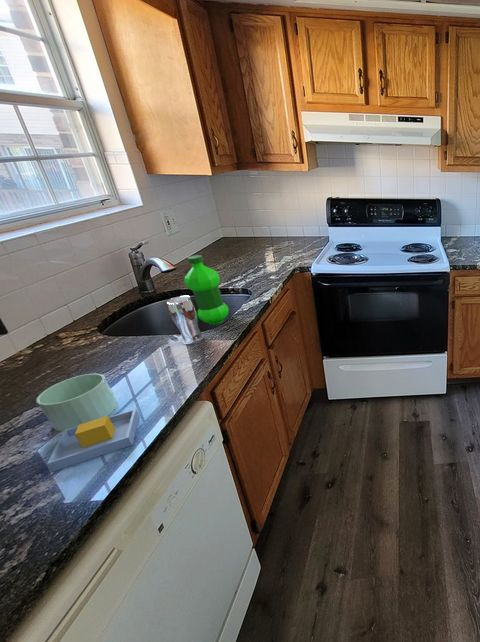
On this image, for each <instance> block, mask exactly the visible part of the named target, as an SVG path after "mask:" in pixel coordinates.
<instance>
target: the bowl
mask: <svg viewBox="0 0 480 642" xmlns="http://www.w3.org/2000/svg"><path fill="white" fill-rule="evenodd" d="M35 399H36V401H35V402H36V404H37V405H38V407H39V409H40V410H41V412H42V413H43V415H44V417H45V418H46V419H47V421H48V422H49V424H50V426H51V427H52V428H53V430H55V431H56V432H60V433H61V432H62V433H63V431H64V430H66V429H70V428H73V427H76V426H79V424H83V423H86V422H89V421H93V420H96V419H99V418H103V417H106V416H108V417H109V415H110V414H112V413H113V412H114V411H115V410H116V408H117V407H118V404H119V402H118V400H117V398H116V396H115V394H114V392H113V390H112V388H111V386H110V384H109V383H108V381H107V379H106V377H105V375H104V374H101V373H95V372H94V373H86V374H81V375H77V376H73V377H70V378H67V379H65V380H62V381H59V382H57V383H55V384H53V385H51V386H49V387H48V388H46V389H45V390H44V391H42V392H41V393H39V395H38V396H36V398H35ZM114 409H115V410H114Z"/></svg>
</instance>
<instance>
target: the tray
mask: <svg viewBox="0 0 480 642" xmlns="http://www.w3.org/2000/svg"><path fill="white" fill-rule="evenodd" d="M140 416H141V415H140V414H139V412H138V409H137V408H133V409H130V410H127V411H123V412H120V413H116V414H113V415H110V416H108V417H109V419H110V421H111V423H112V424H113V426H114V428H115V431H114V434H113V437H112V439H109V440H106V441H103V442H100V443H97V444H94V445H91V446H88V447H85V448H83V447H82V446H81V444H80V442H79V441H78V439H77V437H76V436H75V432H76V430H77V428H78V426H76V427H73V428H70V429H66V430H64V431H63V432H62V433H61V435H60V436H59V439H58V441H57V443H56V445H55V446H54V449H53V451H52V453H51V454H50V457H49V459H48V461H47V463H46V465H47V467H48V468H49V469H50V471H51V472H52V473H53V472H56V471H59V470H62V469H65V468H68V467H71V466H74V465H77V464H79V463H80V464H81V463H83V462H86V461H88V460H92V459H94V458H97V457H101V456H103V455H107V454H109V453H110V454H111V453H112V452H115V451H119V450H122V449H125V448H128V447H130V446H133V445H134V441H135V436H136V433H137V429H138V424H139V420H140Z"/></svg>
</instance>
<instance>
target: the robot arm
mask: <svg viewBox="0 0 480 642" xmlns="http://www.w3.org/2000/svg"><path fill="white" fill-rule="evenodd" d="M7 334H9V331H8V329H7V327H6V325H5V323H4V322H3V320H2V318H1V317H0V336H5V335H7Z"/></svg>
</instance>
